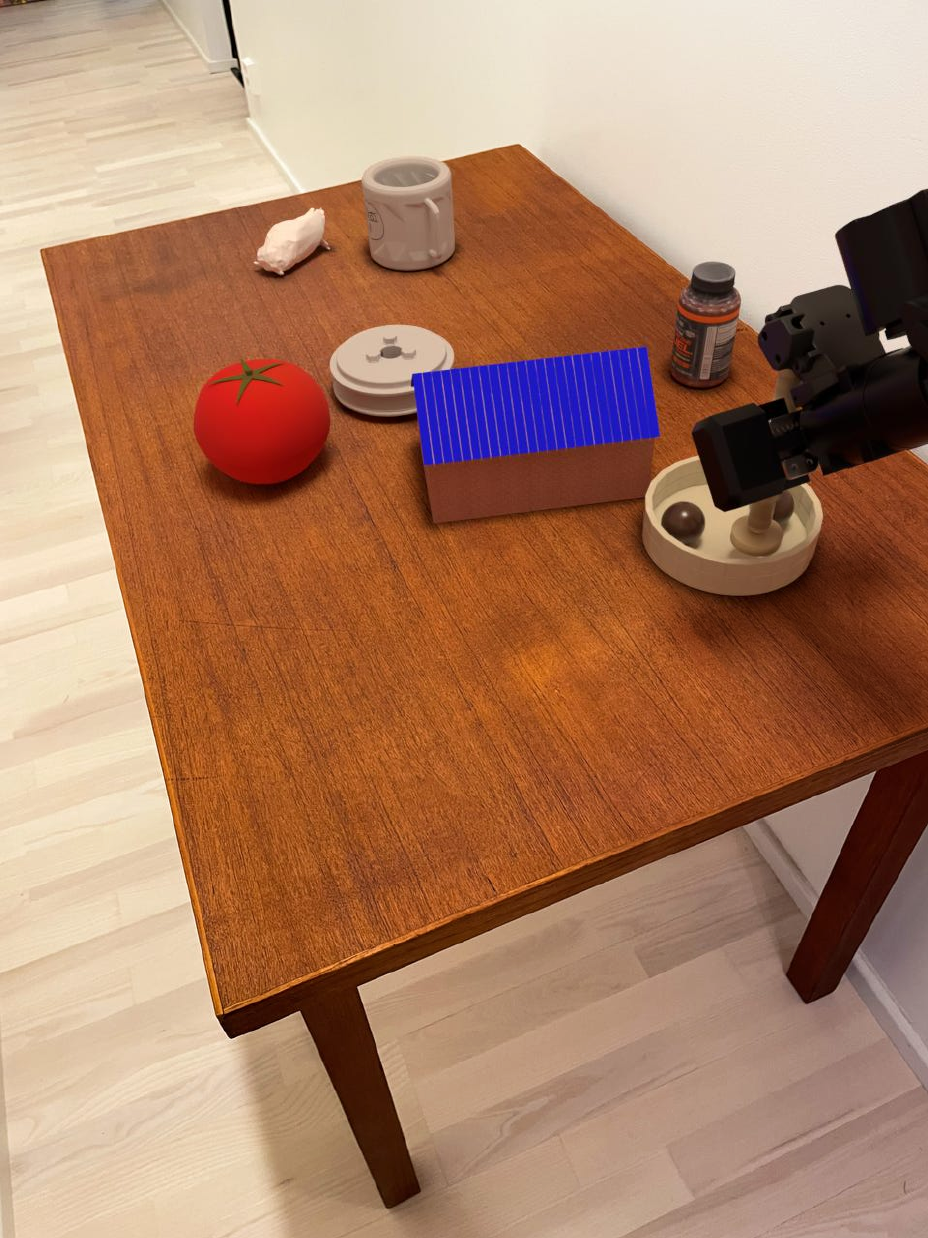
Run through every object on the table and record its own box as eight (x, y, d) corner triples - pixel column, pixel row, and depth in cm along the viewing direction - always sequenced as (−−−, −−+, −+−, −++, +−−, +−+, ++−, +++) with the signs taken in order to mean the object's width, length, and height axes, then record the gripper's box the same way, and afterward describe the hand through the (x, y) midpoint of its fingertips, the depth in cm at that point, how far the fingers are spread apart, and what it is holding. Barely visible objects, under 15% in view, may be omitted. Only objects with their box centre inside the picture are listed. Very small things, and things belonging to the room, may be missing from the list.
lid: (312, 409, 98) (303, 365, 94) (371, 347, 106) (366, 305, 102) (422, 435, 94) (418, 391, 90) (475, 369, 101) (473, 326, 98)
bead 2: (798, 528, 81) (807, 495, 78) (762, 541, 80) (770, 507, 77) (772, 504, 83) (780, 471, 80) (737, 516, 82) (744, 483, 80)
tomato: (187, 470, 92) (156, 373, 84) (289, 415, 97) (268, 320, 90) (256, 522, 86) (230, 423, 78) (360, 460, 91) (345, 362, 84)
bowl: (849, 563, 78) (860, 530, 76) (700, 617, 75) (706, 585, 72) (748, 468, 88) (754, 436, 85) (611, 512, 84) (614, 481, 82)
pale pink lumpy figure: (298, 252, 126) (247, 265, 118) (305, 199, 122) (253, 209, 114) (328, 266, 124) (278, 281, 117) (336, 213, 120) (285, 225, 113)
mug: (357, 247, 123) (346, 166, 116) (431, 226, 126) (426, 147, 119) (402, 289, 115) (394, 206, 107) (481, 266, 118) (478, 183, 110)
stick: (773, 562, 75) (816, 384, 63) (723, 548, 76) (756, 370, 65) (787, 532, 77) (831, 354, 66) (738, 518, 79) (773, 342, 67)
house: (652, 498, 85) (666, 384, 77) (430, 526, 84) (419, 413, 76) (619, 422, 94) (628, 311, 85) (416, 446, 92) (405, 337, 84)
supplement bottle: (657, 368, 100) (669, 264, 92) (705, 353, 101) (721, 250, 93) (690, 396, 96) (705, 290, 88) (740, 380, 98) (759, 275, 90)
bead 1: (720, 525, 78) (694, 490, 77) (687, 553, 78) (660, 518, 77) (704, 527, 81) (679, 494, 81) (672, 554, 81) (646, 520, 81)
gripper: (987, 235, 59) (831, 321, 74) (730, 307, 54) (620, 382, 70) (1040, 408, 59) (874, 458, 75) (789, 494, 55) (667, 529, 70)
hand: (761, 453), depth 72 cm, fingers closed on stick, 2 cm apart
